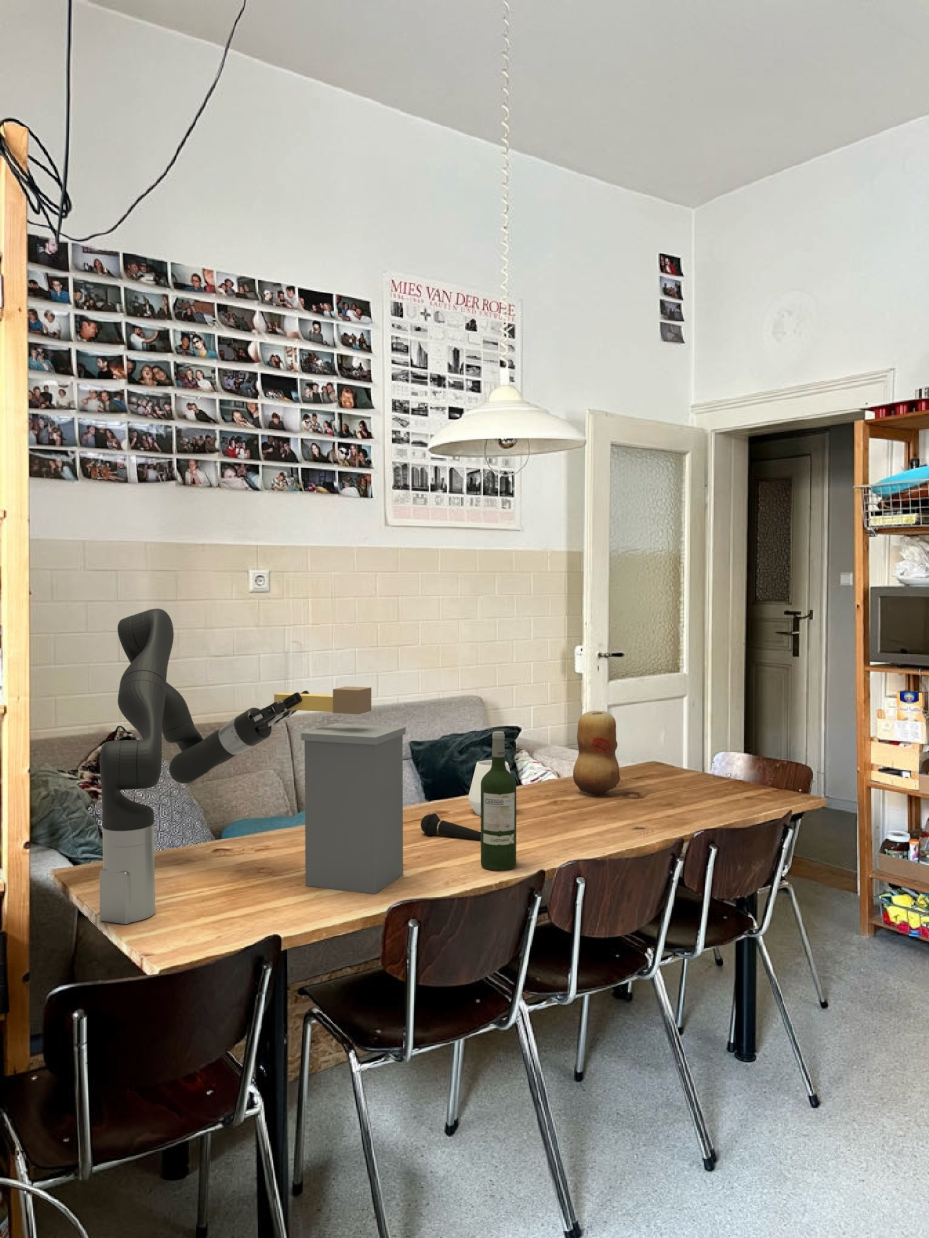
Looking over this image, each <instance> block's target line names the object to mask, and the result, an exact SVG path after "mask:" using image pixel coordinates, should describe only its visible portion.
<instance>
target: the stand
mask: <svg viewBox="0 0 929 1238" xmlns="http://www.w3.org/2000/svg"><path fill="white" fill-rule="evenodd" d="M406 730H407V729H406V726H394V725H393V726H390V725H389V726H388V725H373V724H357V723H355V724H352V723H331V724H328V725H326V726H321V727H318V728H315V729H312V730H308V731H304V732H301V734H300V740H301V741H304V853H305V854H304V856H305V858H304V859H305V861H304V863H305V864H304V865H305V867H304V868H305V869H304V870H305V873H304V874H305V875H304V876H305V887H310V888H311V887H313V888H319V889H320V888H321V889H329V890H337V891H346V892H353V893H354V892H355V893H361V894H362V893H363V894H370V895H376V894H378V893H379V892H380V891H382V890H383V889H385V888H386V887H388V886H389V885H391V884H392V883H394V882H395V881H396V880H397V878H398V879H399V878H400V877H402V876H403V875H404V805H403V804H404V799H403V797H404V795H403V794H404V792H403V790H404V787H403V786H404V785H403V783H404V779H403V778H404V776H403V775H404V774H403V769H404V768H403V767H404V766H403V762H404V761H403V760H404V759H403V757H404V756H403V753H404V752H403V751H404V750H403V748H404V747H403V742H404V739H403V738H404V735H406V734H407V733H406ZM381 889H382V890H381Z"/></svg>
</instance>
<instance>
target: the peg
mask: <svg viewBox="0 0 929 1238" xmlns="http://www.w3.org/2000/svg"><path fill="white" fill-rule="evenodd" d="M294 693H295V692H293V693H292V692H278V693H273V703H274V702H277V703H278V702H279V701H280V700H284V699H286V698H288V697H289V696H291V695H293V694H294ZM300 696H301V698H302V701H301V702H300V703H298V704H297V705H295V706H293V707H292V708H290V709H288V710H298V711H307V712H324V713H326V712H327V713H333V714H342V715H343V714H345V715H347V714H349V715H362V714H364V713H365V714H366V713H369V712H372V687H365V686H342V687H337V688H333V689H332V694H322V693H321V694H319V693H317V694H315V693H309V694H300Z"/></svg>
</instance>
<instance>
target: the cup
mask: <svg viewBox="0 0 929 1238" xmlns="http://www.w3.org/2000/svg"><path fill="white" fill-rule="evenodd" d="M491 766H492V759H489V760H488V759H487V760H486V759H485V760H480V761H477V762H476V764H475V768H474V771H473V772H474V773H473V777H472V781H471V785H470V789H469V793H468V798H467V800H468V803H469V805H470V806H471V807H472V810H473V811H474V813H475V815H477V816H480V817H481V780H482V778H483V777H484V776H485V774H486V773H487V772H488V771H489V770H490V769H491ZM505 766H506V769H507V771H509V772H510V773H511V770H510V766H509V763H508V762H507V761H505Z"/></svg>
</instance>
